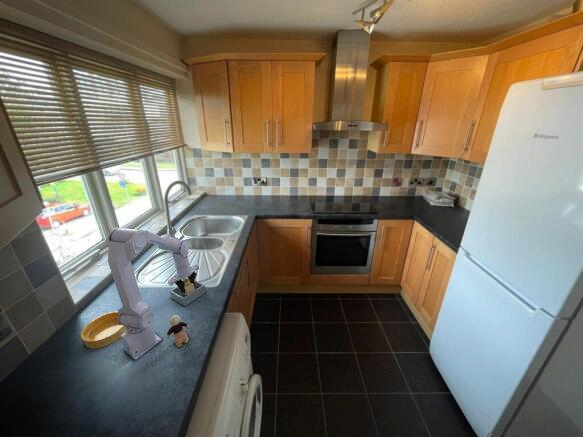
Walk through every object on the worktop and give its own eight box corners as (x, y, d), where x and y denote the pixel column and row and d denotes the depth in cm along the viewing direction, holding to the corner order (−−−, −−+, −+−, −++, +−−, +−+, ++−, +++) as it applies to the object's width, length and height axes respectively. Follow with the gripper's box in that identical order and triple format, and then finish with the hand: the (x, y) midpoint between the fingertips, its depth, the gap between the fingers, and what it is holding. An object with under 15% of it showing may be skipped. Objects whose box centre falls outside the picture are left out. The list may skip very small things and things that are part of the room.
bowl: (94, 356, 82) (90, 348, 81) (78, 337, 89) (74, 330, 88) (137, 327, 93) (134, 320, 92) (119, 313, 100) (116, 306, 99)
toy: (187, 296, 107) (184, 282, 104) (181, 292, 110) (177, 279, 107) (195, 291, 111) (192, 277, 108) (188, 288, 113) (185, 274, 110)
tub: (185, 306, 104) (183, 299, 102) (171, 297, 109) (169, 290, 107) (205, 291, 113) (204, 284, 111) (192, 284, 118) (190, 277, 116)
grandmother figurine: (188, 333, 91) (181, 307, 86) (193, 338, 88) (187, 312, 84) (168, 347, 85) (160, 320, 80) (173, 353, 83) (165, 326, 78)
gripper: (190, 254, 112) (195, 278, 117) (161, 270, 101) (167, 295, 106) (200, 258, 108) (204, 282, 114) (171, 275, 97) (177, 301, 102)
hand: (187, 289), depth 110 cm, fingers closed on toy, 4 cm apart
